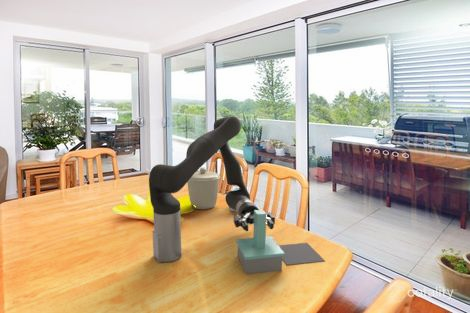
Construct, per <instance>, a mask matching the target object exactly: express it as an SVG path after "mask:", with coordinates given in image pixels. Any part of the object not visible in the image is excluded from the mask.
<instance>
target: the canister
mask: <svg viewBox="0 0 470 313" xmlns="http://www.w3.org/2000/svg"><path fill="white" fill-rule="evenodd" d="M220 178H221V175H220V174H219V173H217V172H215V171H209V170H207V168H206V167H200V168H199V170H197V171H196V172H195V173H194V175H193V176H192V177H191V178H190V179H189V181H188V182H187V183H186V184H187V189H188V197H189V202H191V203H190V205H191V204H192V205H195V206H196V208H195V209H196V210H210V209H212V208H214V207H215V206H216V205H217V201H218V195H219V194H218V193H219V186H220V185H219V184H220ZM192 205H191V206H192Z"/></svg>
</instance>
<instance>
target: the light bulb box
mask: <svg viewBox="0 0 470 313" xmlns="http://www.w3.org/2000/svg"><path fill="white" fill-rule="evenodd" d="M234 190H240V188H239V187H238V186H237V185H232V187H231V189H230V190H229V192H230V191H234ZM229 211H231V212H237V211H236V210H234V209H232V208H230V207H229Z"/></svg>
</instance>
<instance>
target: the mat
mask: <svg viewBox="0 0 470 313" xmlns="http://www.w3.org/2000/svg"><path fill="white" fill-rule="evenodd" d="M278 245H279V247H280V248H281V249H282V251H283V252H284V256H282V262H283V263H284V264H285V265H286V266H293V265H301V264H302V265H303V264H304V265H305V264H313V263H322V262H326V259H324V258H323V257H322V256H321V255H320V254H319V253H318V252H317V251H316V250H315V249H314V247H312V246H311V245H310V244H309V243H308V242H303V243H302V242H300V243H291V244H278Z"/></svg>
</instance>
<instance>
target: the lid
mask: <svg viewBox="0 0 470 313" xmlns="http://www.w3.org/2000/svg"><path fill="white" fill-rule="evenodd" d="M266 214H267V212H265V211H264V210H263V209H259V210H254V224H253V237H246V238H237V239H236V240H235V242H236V244H237V248H238V247H239V249H240V251H241V253H242V255H243V257H244V259H245V260H251V259H261V258H271V257H280V256H284V252H283V251H282V249H281V248H280V247H279V245H280V244H278V243H277V241H276V240H275V239H274V237H273V236H272V235H268V236H266V235H267V232H266V231H267V225H266V222H267V220H266Z"/></svg>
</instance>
